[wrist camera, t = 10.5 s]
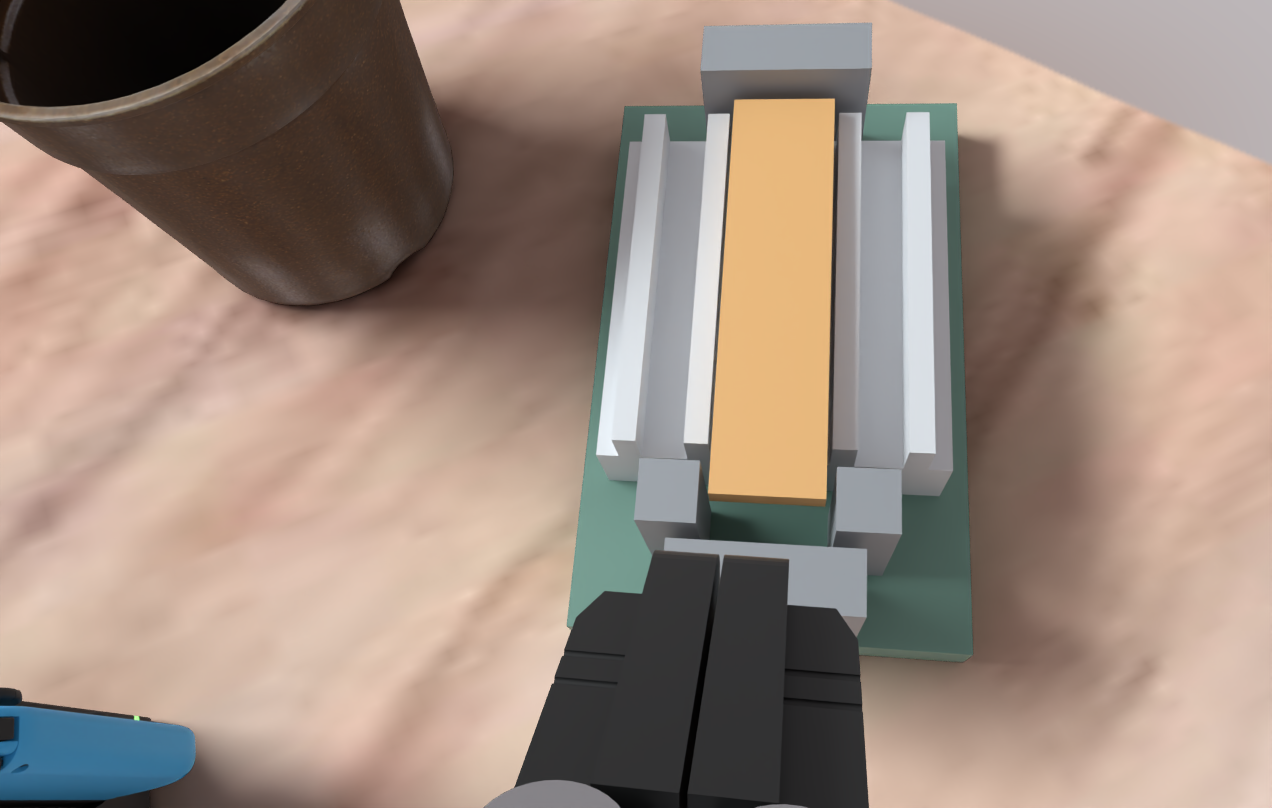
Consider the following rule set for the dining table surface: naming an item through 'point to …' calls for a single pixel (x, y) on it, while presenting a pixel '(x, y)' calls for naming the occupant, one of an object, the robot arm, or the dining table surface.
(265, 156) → the plant pot
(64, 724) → the game console
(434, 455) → the dining table surface
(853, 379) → the base
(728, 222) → the retention strap
